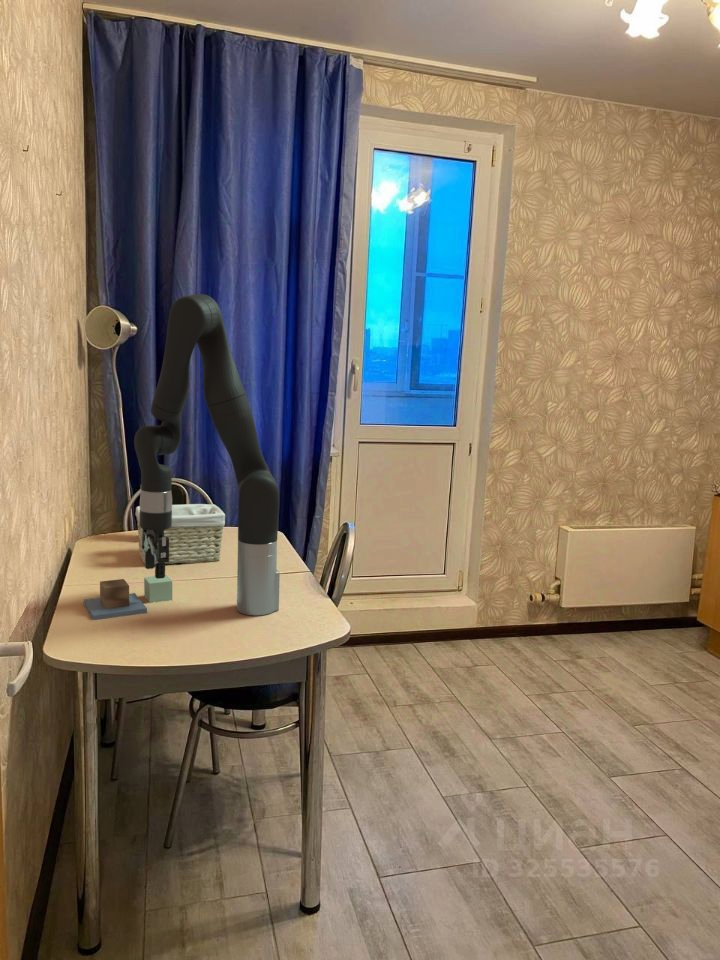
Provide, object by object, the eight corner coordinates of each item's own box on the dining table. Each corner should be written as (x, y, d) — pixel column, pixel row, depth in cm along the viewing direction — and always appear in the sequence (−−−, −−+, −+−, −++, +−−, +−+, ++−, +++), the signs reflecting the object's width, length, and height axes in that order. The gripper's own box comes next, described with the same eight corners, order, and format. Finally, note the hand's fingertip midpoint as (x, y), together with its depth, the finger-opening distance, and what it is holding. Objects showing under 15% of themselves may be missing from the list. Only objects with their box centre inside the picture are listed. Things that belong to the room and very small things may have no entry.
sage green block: (166, 593, 186) (166, 574, 185) (172, 600, 181) (172, 581, 181) (144, 596, 183) (144, 577, 183) (149, 603, 179) (149, 583, 178)
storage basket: (214, 548, 230) (214, 502, 227) (226, 562, 215) (227, 513, 213) (134, 553, 220) (134, 505, 218) (141, 569, 206) (141, 517, 203)
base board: (134, 596, 182) (134, 593, 182) (147, 612, 172) (147, 608, 172) (83, 603, 177) (83, 599, 176) (93, 619, 166) (93, 615, 166)
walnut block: (124, 598, 178) (123, 578, 177) (129, 605, 173) (129, 585, 172) (100, 601, 175) (99, 581, 174) (105, 609, 170) (104, 588, 170)
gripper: (180, 513, 174) (179, 579, 176) (162, 501, 186) (161, 563, 188) (148, 515, 170) (147, 583, 173) (132, 503, 182) (131, 566, 184)
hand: (154, 573), depth 180 cm, fingers open, 8 cm apart
